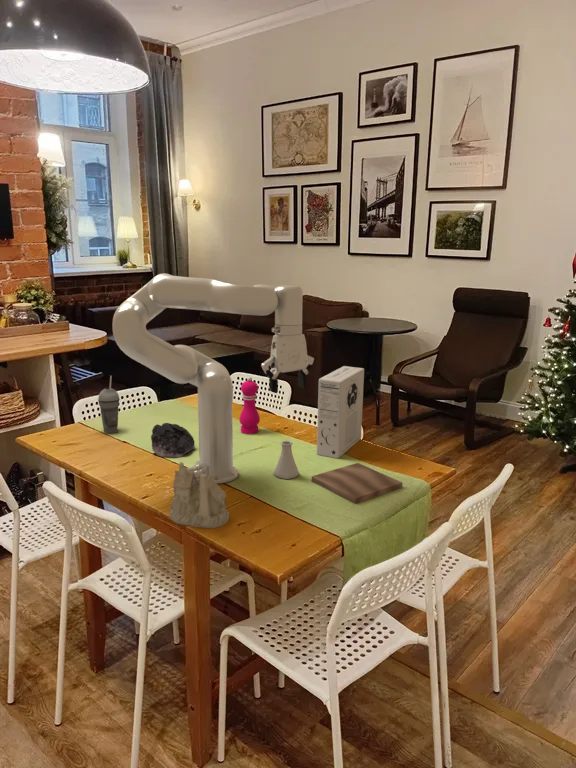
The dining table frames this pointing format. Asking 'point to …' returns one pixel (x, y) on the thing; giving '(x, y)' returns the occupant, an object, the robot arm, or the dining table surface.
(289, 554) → the dining table surface
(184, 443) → the crystal cluster
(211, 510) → the miniature castle
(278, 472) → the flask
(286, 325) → the robot arm
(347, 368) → the cereal box
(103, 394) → the beverage cup
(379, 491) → the walnut board
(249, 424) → the pepper mill
